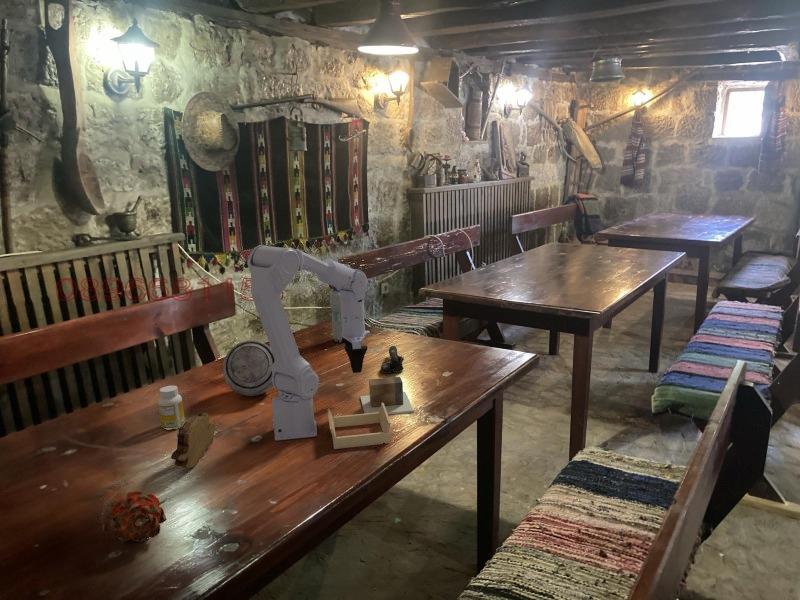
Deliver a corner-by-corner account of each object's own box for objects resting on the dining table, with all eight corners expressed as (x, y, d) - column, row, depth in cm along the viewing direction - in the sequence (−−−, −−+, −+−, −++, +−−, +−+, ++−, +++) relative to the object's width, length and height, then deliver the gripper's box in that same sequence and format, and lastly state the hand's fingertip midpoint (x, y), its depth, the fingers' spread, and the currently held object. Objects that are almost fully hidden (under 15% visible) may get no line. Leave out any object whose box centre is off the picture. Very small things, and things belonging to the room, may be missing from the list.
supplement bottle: (177, 419, 150) (172, 382, 148) (189, 424, 147) (184, 387, 144) (157, 427, 146) (151, 389, 144) (169, 433, 143) (164, 394, 140)
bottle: (334, 337, 212) (331, 281, 207) (353, 337, 211) (350, 281, 206) (329, 343, 205) (326, 285, 200) (349, 343, 204) (346, 285, 199)
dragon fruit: (158, 559, 101) (119, 544, 108) (187, 511, 105) (148, 499, 112) (121, 537, 95) (83, 523, 103) (153, 488, 100) (114, 477, 107)
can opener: (404, 376, 174) (404, 357, 172) (380, 377, 174) (379, 358, 173) (405, 355, 191) (404, 338, 190) (383, 356, 191) (382, 339, 190)
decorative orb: (223, 407, 156) (217, 352, 152) (227, 386, 170) (221, 335, 166) (282, 400, 159) (277, 346, 155) (281, 381, 173) (276, 330, 169)
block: (371, 407, 152) (370, 385, 150) (369, 401, 156) (368, 379, 154) (403, 404, 153) (402, 382, 151) (400, 398, 157) (399, 376, 155)
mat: (365, 417, 148) (365, 415, 148) (360, 397, 159) (360, 396, 159) (413, 412, 150) (413, 410, 149) (405, 393, 161) (405, 391, 161)
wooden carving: (198, 442, 137) (193, 402, 135) (218, 442, 137) (213, 401, 135) (169, 481, 121) (163, 436, 119) (192, 481, 121) (186, 435, 119)
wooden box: (331, 449, 132) (330, 428, 131) (328, 427, 143) (327, 407, 142) (391, 442, 134) (390, 422, 133) (384, 421, 145) (383, 402, 144)
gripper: (372, 322, 145) (374, 375, 148) (365, 307, 159) (367, 356, 162) (342, 324, 144) (345, 378, 147) (338, 309, 158) (341, 358, 161)
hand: (355, 367), depth 155 cm, fingers open, 7 cm apart
